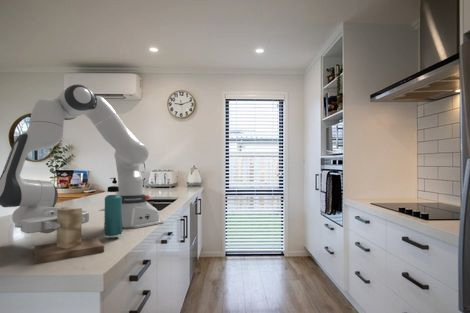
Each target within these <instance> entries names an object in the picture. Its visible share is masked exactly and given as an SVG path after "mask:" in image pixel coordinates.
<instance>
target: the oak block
mask: <svg viewBox="0 0 470 313" xmlns="http://www.w3.org/2000/svg"><path fill="white" fill-rule="evenodd" d="M61 208H62V209H57V222H60V223H61V225H60V226H61V228H58V229H57V230H56V243H57V247H61V248H65V249H67V248H71V247H75V246H78V245H81V239H82V231H83V230H82V225H83V224H82V211H83V209H82V208H83V207H77V206H76V207H75V206H72V207H71V206H70V207H61Z"/></svg>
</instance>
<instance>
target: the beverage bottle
mask: <svg viewBox="0 0 470 313" xmlns="http://www.w3.org/2000/svg"><path fill="white" fill-rule="evenodd" d="M118 192H119V187H118V185H116V186H115V185H113V186H108V187H107V193H118ZM103 215H104V222H103V223H104V225H103V227H104V230H103V231H104V236H106V237H107V236H108V237H114V236H119V235H122V233H123V227H122V197H121V196H120V195H118V194H107V195H106V196H105V197H104V213H103Z"/></svg>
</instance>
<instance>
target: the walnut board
mask: <svg viewBox="0 0 470 313" xmlns="http://www.w3.org/2000/svg"><path fill="white" fill-rule="evenodd" d="M103 252H105V244H103V243H102V242H101V241H100V240H99V239H97V237H96V236H94V237H86V238H81V245H78V246H75V247H71V248H67V249H65V248H61V247H57V242H52V243H45V244H38V245H34V251H33V253H34V259H35V263H36V265H37V264H42V263H47V262H53V261H58V260H65V259H71V258H75V257H81V256H88V255H93V254H94V255H95V254H100V253H103Z"/></svg>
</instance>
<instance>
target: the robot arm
mask: <svg viewBox="0 0 470 313" xmlns="http://www.w3.org/2000/svg"><path fill="white" fill-rule="evenodd" d="M81 115H83V116H86V117H87V118H88V119H89V120H90V121H91V123H92V124H93V126H94V127H95V128H96V130H97V131H98V133H99V134H100V135H101V137H102V138H103V139H104V140H105V142H107V143H108V144H109V145H110V146H111V147H112V148H113V149H114V150H115V151H114V156H113V157H114V159H115V165H116V167H115V168H116V173H117V180H118V181H117V183H118V185H117V186H118V187H119V192H117V193H118V194H117V195H120V196H121V197H122V228H130V229H131V228H133V229H134V228H135V229H137V228H138V229H139V228H143V227H144V228H145V227H148V226H154V225H160V224H164V222H165V221H164V219H163V218H160V212H159V210H158V209H157V208H156V207H154V206H153V205H152V204H151V203H149V202H148V201H149V200H150V199H151V197H150V195H148V194H144V192H143V191H144V181H143V180H144V177H143V175H142V173H141V166H140V165H141V164H143V163H145V162H146V161H147V160H148V158H149V153H150V152H149V149H148V147H147V146H146V144H144V143H142V142H141V141H140V140H139V139H138V137H136V136H135V135H134V134H133V132H131V130H130V129H128V127H127V126H126V124H125V123H124V121H123V120H122V118H120V116H119V115H118V113H117V112H116V110H115V109H114V107H113V106H112V105H111V104H110V103H109V102H108V101H107V100H106V99H105V98H104V97H103V96H101V95H96V94H95V93H93V92H92V90H91V89H89V88H88V87H87V86H85V85H83V84H73V85H70V86H68V87H67V88H65V89H64V90H62V91H61V92H60V93H59V95H58V96H57V97H56V98H54V99H52V98H39V99H38V100H36V102H35V103H34V106H33V109H32V111H31V114H30V119H29V125H28V127H27V130H26V132H24V133H22V134H21V133H20V134H19V135H18V136H17V138H15V140H14V142H13V144H12V146H11V149H10V151H9V154H8V157H7V159H6V162H5V165H4V167H3V170H2V173H1V175H0V206H1V207H2V208H16V209H15V210H13V212H12V216H11V219H12V220H11V221H12V222H13V223H14V228H19V229H20V232H22V233H25V234H35V233H40V234H50V233H53V232H55V231H57V229H58V228H61V226H60V225H61V223H60V222H57V209H62V208H63V207H55V206H56V205H57V202H58V198H59V192H58V189H57V186H56V185H55V184H54V182H52V181H49V180H40V179H38V180H37V179H28V178H22V177H21V174H22V170H23V168H24V164H25V161H26V159H27V156H28V155H29V154H30V153H32V152H34V151H41V150H42V151H43V150H47V149H50V148H53V147H56V146H57V145H58V144H59V143H61V141H62V138H63V133H64V124H65V123H64V122H65V121H70V120H73V119H76V118H77V117H79V116H81ZM89 220H90V214H89V212H88V211H86V210H82V225H83V224H86V223H88V222H89Z"/></svg>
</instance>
